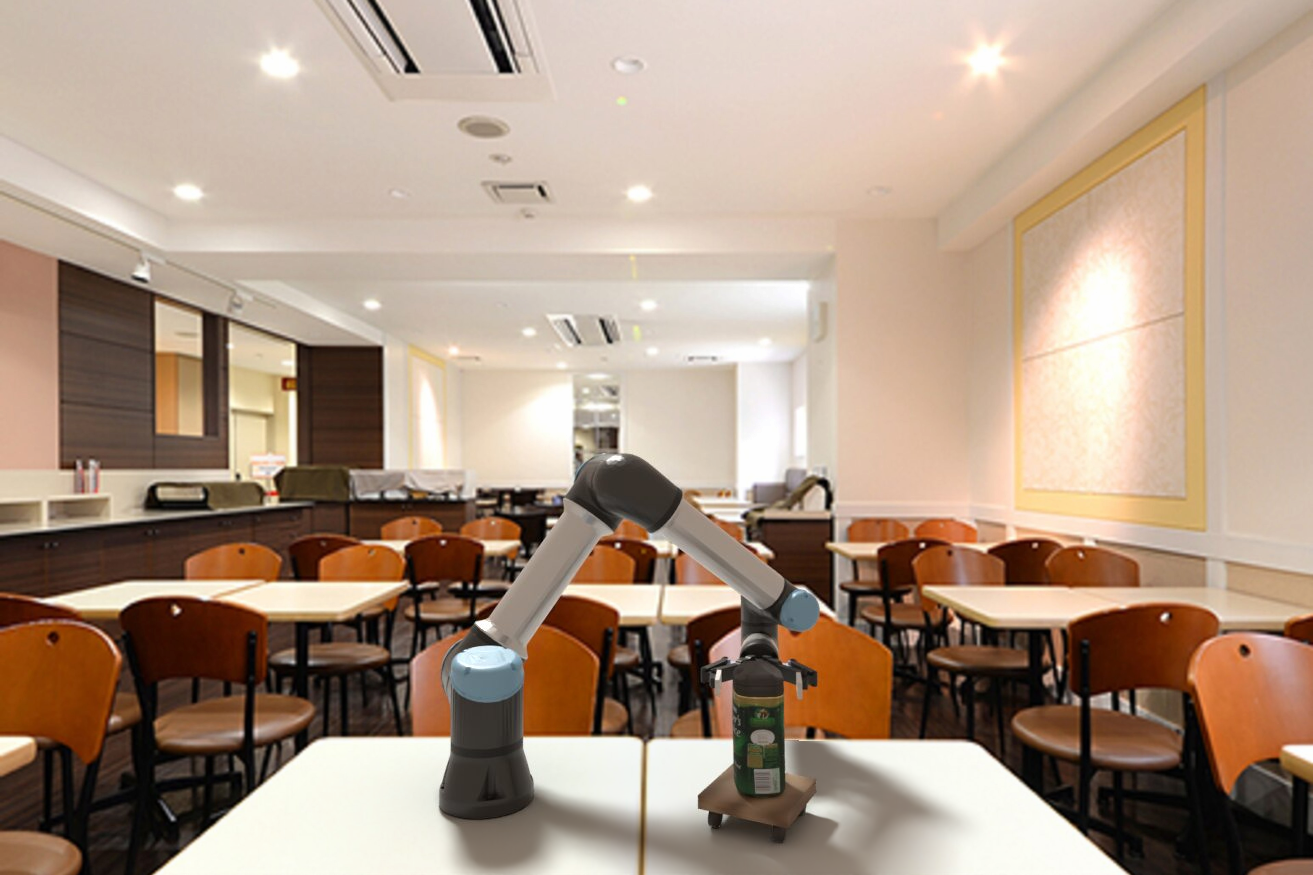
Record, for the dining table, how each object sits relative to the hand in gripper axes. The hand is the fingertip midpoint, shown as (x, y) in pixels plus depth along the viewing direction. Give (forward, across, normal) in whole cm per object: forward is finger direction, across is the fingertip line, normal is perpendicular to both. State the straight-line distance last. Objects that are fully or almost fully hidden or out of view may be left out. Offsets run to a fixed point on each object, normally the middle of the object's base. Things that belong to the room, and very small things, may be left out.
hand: (758, 689), depth 131 cm
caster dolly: (+9, 0, -17) cm, 20 cm away
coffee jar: (+9, 0, -12) cm, 15 cm away
